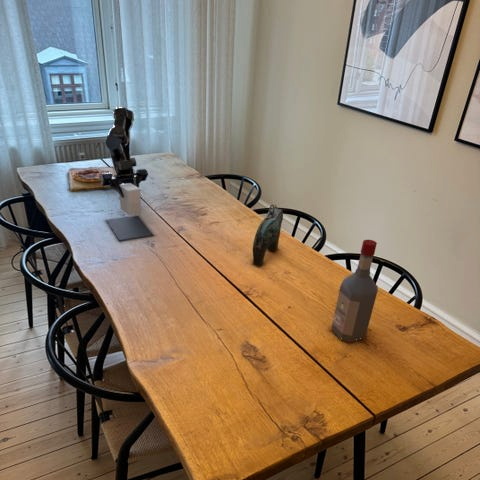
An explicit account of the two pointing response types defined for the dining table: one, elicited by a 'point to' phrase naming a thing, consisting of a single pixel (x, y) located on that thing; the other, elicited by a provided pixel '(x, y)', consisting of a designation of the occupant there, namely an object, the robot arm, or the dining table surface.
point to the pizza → (88, 178)
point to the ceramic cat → (267, 235)
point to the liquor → (356, 299)
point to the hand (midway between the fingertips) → (130, 196)
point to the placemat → (129, 228)
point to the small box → (130, 199)
